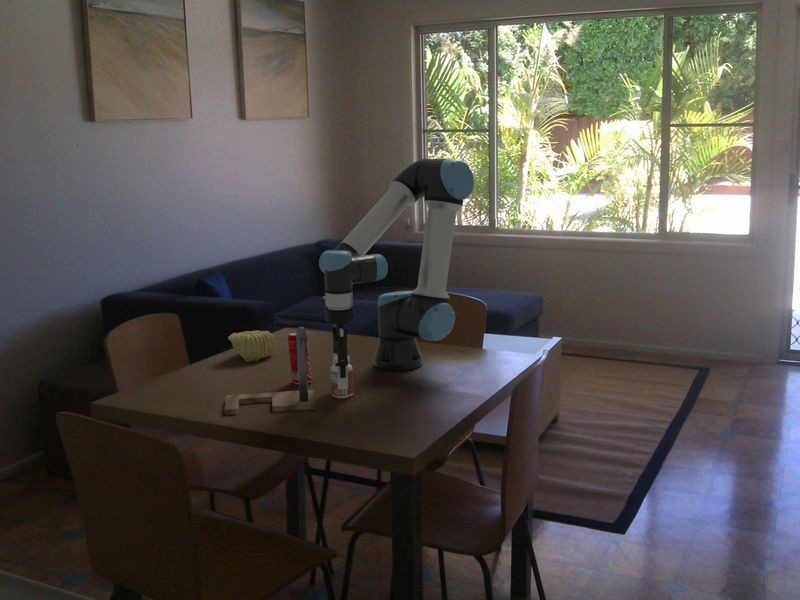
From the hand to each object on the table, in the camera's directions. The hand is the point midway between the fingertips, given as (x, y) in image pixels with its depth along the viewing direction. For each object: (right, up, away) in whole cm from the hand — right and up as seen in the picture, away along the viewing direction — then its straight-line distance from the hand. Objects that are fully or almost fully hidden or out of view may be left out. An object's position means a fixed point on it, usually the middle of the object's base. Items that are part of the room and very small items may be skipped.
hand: (340, 382), depth 250 cm
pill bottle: (0, -4, +1) cm, 4 cm away
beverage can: (-13, -2, +15) cm, 20 cm away
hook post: (-9, -6, -10) cm, 15 cm away
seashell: (-32, +4, +45) cm, 56 cm away
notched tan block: (-19, -6, -6) cm, 20 cm away
